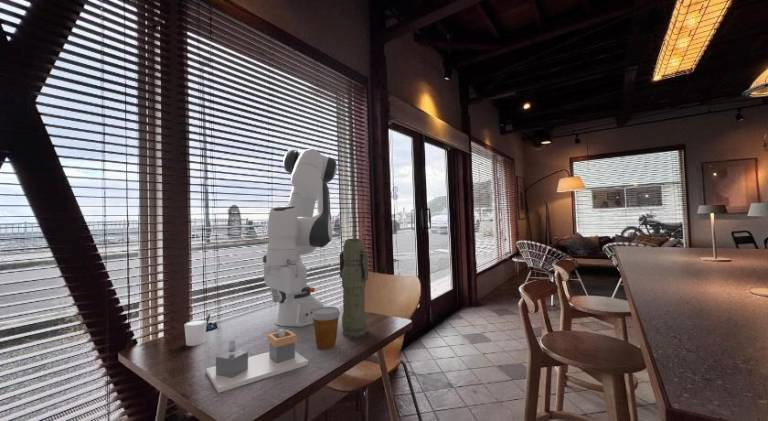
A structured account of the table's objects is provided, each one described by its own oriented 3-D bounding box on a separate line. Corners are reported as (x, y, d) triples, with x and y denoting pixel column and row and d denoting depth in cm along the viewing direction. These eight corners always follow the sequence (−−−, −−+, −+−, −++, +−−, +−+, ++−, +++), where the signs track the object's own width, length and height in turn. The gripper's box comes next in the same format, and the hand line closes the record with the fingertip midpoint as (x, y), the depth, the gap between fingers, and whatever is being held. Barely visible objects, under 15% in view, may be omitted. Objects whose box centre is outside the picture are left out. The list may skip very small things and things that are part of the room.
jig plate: (288, 350, 107) (288, 319, 107) (308, 364, 96) (307, 330, 96) (206, 372, 92) (206, 336, 92) (218, 392, 81) (218, 351, 81)
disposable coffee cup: (329, 338, 117) (329, 304, 117) (346, 346, 110) (345, 309, 110) (306, 346, 110) (305, 310, 110) (322, 354, 103) (321, 316, 104)
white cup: (196, 347, 111) (196, 326, 111) (179, 345, 112) (179, 325, 112) (211, 339, 117) (211, 320, 118) (194, 338, 119) (194, 319, 119)
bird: (191, 326, 126) (207, 311, 131) (195, 334, 131) (211, 319, 136) (206, 337, 124) (222, 321, 129) (210, 345, 129) (225, 330, 134)
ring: (287, 336, 103) (287, 329, 103) (296, 341, 98) (296, 335, 98) (267, 341, 99) (267, 334, 99) (275, 347, 94) (275, 340, 94)
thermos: (346, 327, 128) (345, 238, 129) (373, 331, 124) (372, 238, 125) (334, 335, 120) (333, 239, 121) (363, 339, 116) (362, 240, 117)
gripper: (307, 260, 93) (307, 310, 93) (279, 255, 109) (279, 297, 108) (286, 262, 89) (285, 314, 89) (260, 256, 105) (259, 300, 104)
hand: (281, 305), depth 99 cm, fingers open, 8 cm apart
